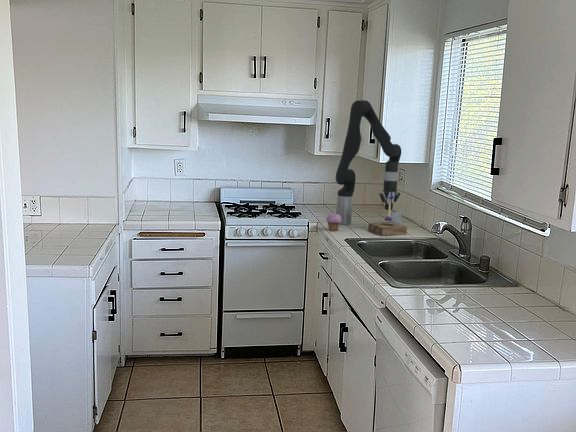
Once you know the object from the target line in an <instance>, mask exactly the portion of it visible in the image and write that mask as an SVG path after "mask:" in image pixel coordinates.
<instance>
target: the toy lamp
mask: <svg viewBox="0 0 576 432" xmlns="http://www.w3.org/2000/svg"><path fill="white" fill-rule="evenodd" d="M386 198H388V197H386ZM393 198H394V197H393V194H392V192H391V195H390V197H389V199H390V200H389V203H388V204H389V210H386V211H387V214H386V215H387V216H386V217H385V218H384V221H385V222H388V221H392V218H391V217H390V212H391V210H390V208H391V207H390V206H391V199H393Z"/></svg>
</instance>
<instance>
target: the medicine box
mask: <svg viewBox="0 0 576 432" xmlns="http://www.w3.org/2000/svg"><path fill="white" fill-rule="evenodd" d="M402 213H403V212H396V211H390V217H391V218H392V221H387V222H394V223H397V224H400V225H402V216H403V215H402Z"/></svg>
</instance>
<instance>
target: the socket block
mask: <svg viewBox="0 0 576 432" xmlns="http://www.w3.org/2000/svg"><path fill="white" fill-rule="evenodd" d="M368 231H369V232H371V233H374V234H376V235H378V236H381V237H392V236H405V235H407V231H408V227H407V226H405V225H402V224H401V225H400V224H397V223H394V222H388V221H382V222H381V221H380V222H368Z"/></svg>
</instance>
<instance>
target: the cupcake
mask: <svg viewBox="0 0 576 432" xmlns="http://www.w3.org/2000/svg"><path fill="white" fill-rule="evenodd" d="M325 221H326V222H327V224H328V230H329V231H331V232H337V231H338V230H339V227H340V225H341V224H340V223H341V221H342V218H341V216H340V215H339V214H336V212H335V213H329V214H328V215H327V216H326V220H325Z"/></svg>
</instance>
